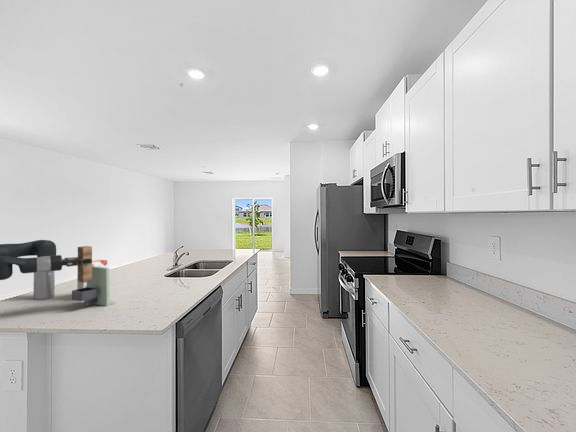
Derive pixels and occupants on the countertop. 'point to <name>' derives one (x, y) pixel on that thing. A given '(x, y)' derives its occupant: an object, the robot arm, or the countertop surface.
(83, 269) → the walnut rail
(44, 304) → the countertop surface
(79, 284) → the cracker box
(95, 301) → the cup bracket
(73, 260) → the robot arm
